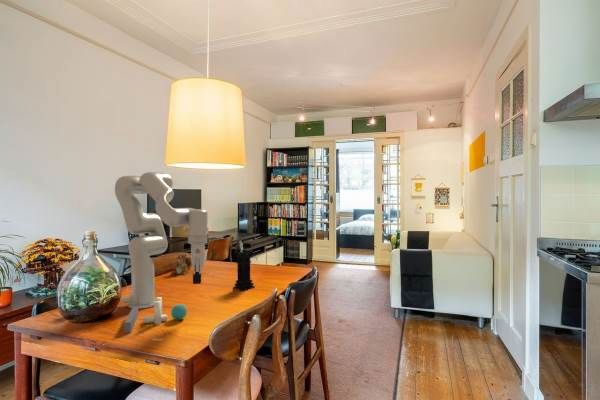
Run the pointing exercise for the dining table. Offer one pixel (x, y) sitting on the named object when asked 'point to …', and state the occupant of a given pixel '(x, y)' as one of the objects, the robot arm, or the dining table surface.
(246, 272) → the chess piece
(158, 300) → the back pin left
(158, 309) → the back pin right
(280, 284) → the dining table surface
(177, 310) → the ball
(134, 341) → the dining table surface
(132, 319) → the wall
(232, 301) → the dining table surface
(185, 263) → the stuffed squirrel
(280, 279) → the dining table surface
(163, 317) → the front pin
